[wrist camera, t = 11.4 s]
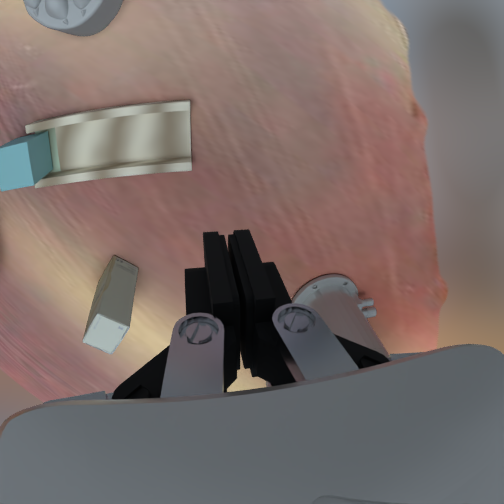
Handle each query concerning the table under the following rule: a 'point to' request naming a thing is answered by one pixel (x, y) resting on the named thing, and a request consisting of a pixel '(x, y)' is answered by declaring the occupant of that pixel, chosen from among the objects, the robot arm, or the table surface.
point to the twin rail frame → (117, 142)
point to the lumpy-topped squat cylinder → (74, 14)
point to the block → (25, 161)
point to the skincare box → (111, 306)
